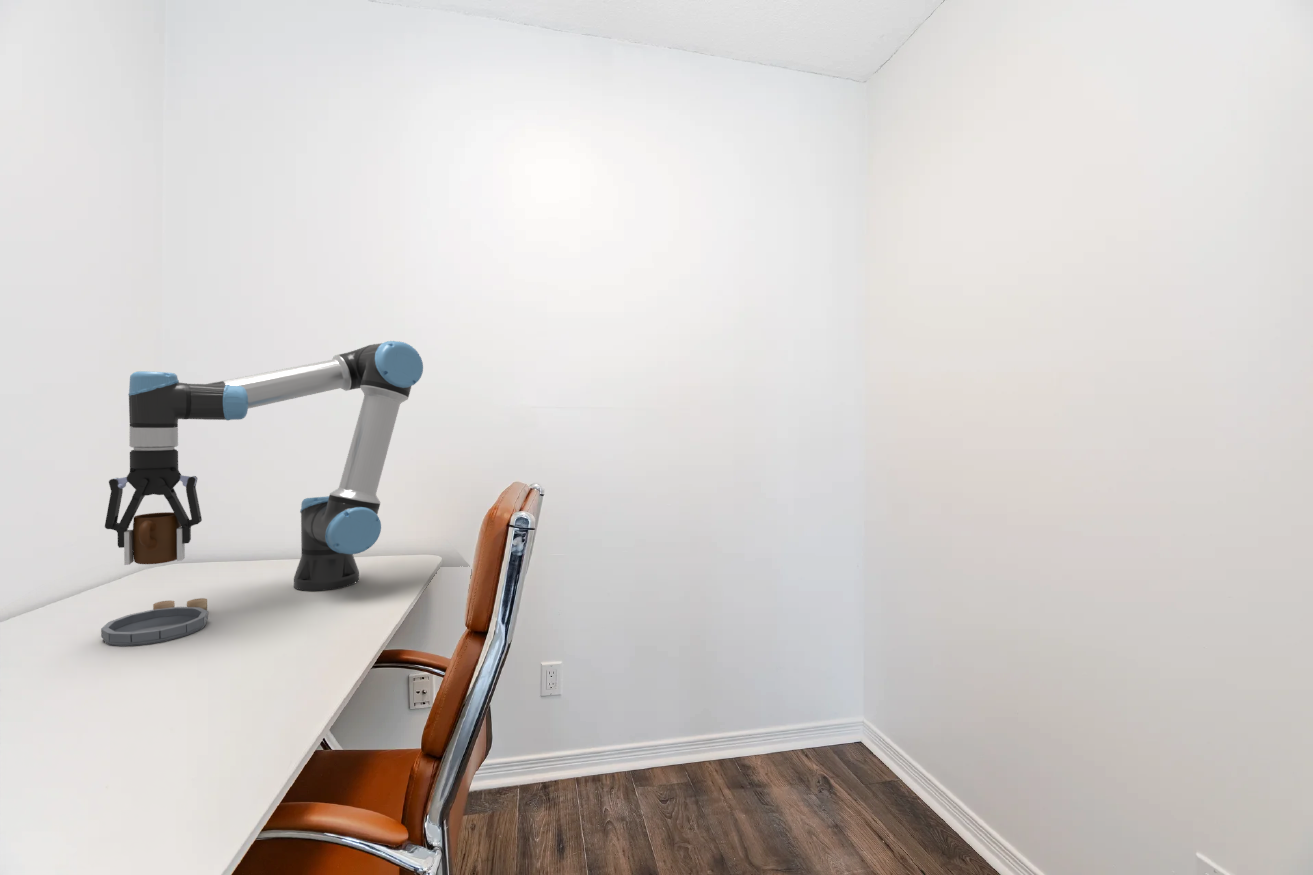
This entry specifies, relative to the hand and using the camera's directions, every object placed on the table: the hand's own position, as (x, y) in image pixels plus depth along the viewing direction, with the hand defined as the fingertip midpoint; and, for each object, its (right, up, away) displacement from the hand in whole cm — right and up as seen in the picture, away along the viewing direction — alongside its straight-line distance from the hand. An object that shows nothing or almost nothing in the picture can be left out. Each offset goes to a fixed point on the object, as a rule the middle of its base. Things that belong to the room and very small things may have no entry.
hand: (155, 561), depth 122 cm
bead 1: (-6, -14, +9) cm, 18 cm away
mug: (0, 0, 0) cm, 1 cm away
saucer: (0, -14, +1) cm, 14 cm away
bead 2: (0, -14, +11) cm, 18 cm away
